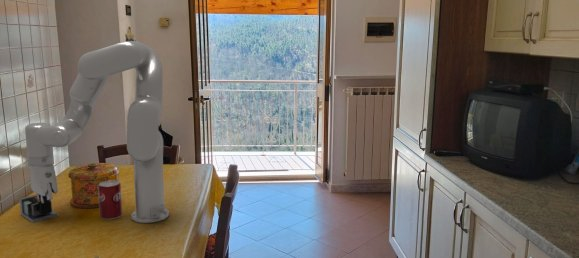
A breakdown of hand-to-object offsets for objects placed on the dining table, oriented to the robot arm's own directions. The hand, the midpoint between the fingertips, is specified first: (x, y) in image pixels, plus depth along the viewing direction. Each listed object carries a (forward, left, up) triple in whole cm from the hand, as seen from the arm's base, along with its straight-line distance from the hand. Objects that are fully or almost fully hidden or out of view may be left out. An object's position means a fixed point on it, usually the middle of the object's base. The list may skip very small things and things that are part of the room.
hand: (45, 213), depth 154 cm
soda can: (-13, -16, -3) cm, 21 cm away
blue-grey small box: (+5, 0, -1) cm, 5 cm away
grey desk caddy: (+5, 0, -2) cm, 5 cm away
